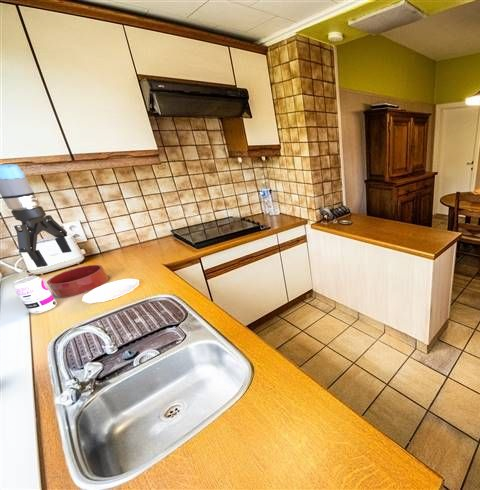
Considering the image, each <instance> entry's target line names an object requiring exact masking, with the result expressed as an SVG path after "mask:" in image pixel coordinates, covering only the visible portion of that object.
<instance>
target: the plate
mask: <svg viewBox="0 0 480 490" xmlns="http://www.w3.org/2000/svg"><path fill="white" fill-rule="evenodd" d="M139 285H140V280H139V279H136V278H123V279H118V280H117V279H116V280H114V281H111V282H110V281H109V282H106V283H104V284H102V285H101V286H99V287H97V288H95V289H92V290H90V291H88V292H86V293H85V294H84V295H83V296H82V299H81V302H82V303H86V304H96V303H104V302H109V301H112V300H115V299H118V298H121V297H124V296H125V295H127V294H128V293H130V292H132V291H134V290H135V288H137V287H138V286H139Z"/></svg>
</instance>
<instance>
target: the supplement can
mask: <svg viewBox="0 0 480 490" xmlns="http://www.w3.org/2000/svg"><path fill="white" fill-rule="evenodd" d="M12 289H13V290H14V291H13V292H15V293H16V295H17V297H18V298H19V299H20V301H21V302H22V303H23V305H24V306H25V308H26V310H27V311H28V313H29V314H42V313H44V312H47V311H49V310H53V308H55V307H56V305H57V303H58V302H57V300H56V299H55V297H54V296H53V294H52V292H51V291H50V288H48V285H46V283H45V282H44V279H43V278H41V277H40V276H38V275H29V276H26V277H22V278H19V279H18V280H15V281H13V282H12Z"/></svg>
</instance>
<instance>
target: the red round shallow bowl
mask: <svg viewBox="0 0 480 490" xmlns="http://www.w3.org/2000/svg"><path fill="white" fill-rule="evenodd" d="M108 280H109V277H108V275H107V273H106V271H105V269H104V267H103V266H102V265H101V264H89V265H84V266H79V267H76V268H75V267H74V268H72V269H68V270H65V271H62V272H60V273H57V274H55V275H54V276H52V277H51V278H49V279H48V280H47V281H46V284H47V287H49V290H51V293H53V294H52V295H54V296H55V297H56V298H66V297H72V296H73V297H74V296H76V295H81V294H84V293H88V292H90V291H91V290H93V289H95V288H97V287H100V286H102V285H104V284H106V283H107V282H108Z"/></svg>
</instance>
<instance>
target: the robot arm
mask: <svg viewBox="0 0 480 490" xmlns="http://www.w3.org/2000/svg"><path fill="white" fill-rule="evenodd" d="M30 184H31V183H30V182H29V180H28V179H27V176H26V174H25V173H24V172H23V170H22V169H21V167H20V166H19V165H18V164H15V163H3V164H0V196H1V198H2V199H3V201H4V203H5V205H6V206H7V208H8V209H9V210H11V211H10V212H11V214H12V216H13V218H14V219H15V220H16V221H19V222H21V224H17V225H14V226H13V228H14V230H15V232H16V238H17V245H18V252H19V253H21V254H22V253H24V254H25V253H27V255H28V256H29V258H30V260H32V261H33V263H34V264H35V266H36V267H37V268H42V267H48V263H47V261H46V260H45V257H44V256H43V255H42V252H41V251H40V250H39V249H37V243H38V235H40V233H41V232H42V231H44V232H46V233H47V234H49V235H51V236H53V237H54V240H55V242H56V244H57V245H58V247H59V250H60V251H61V253H62V254H65V253H71V252H72V249H71V246H70V245H69V243H68V241H67V239H66V237H68V231H67V230H66V229H65V228H63V227H62V226H61V225H60V224H59V223H58V222H57V221H55V220H54V218H53V217H52V215H51V214H47V213H46V212H45V209H44V207H43V206H41V203H40V201H39V200H38V198H37V195H36V194H35V192H34V190H33V188H32V186H31V185H30Z"/></svg>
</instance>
